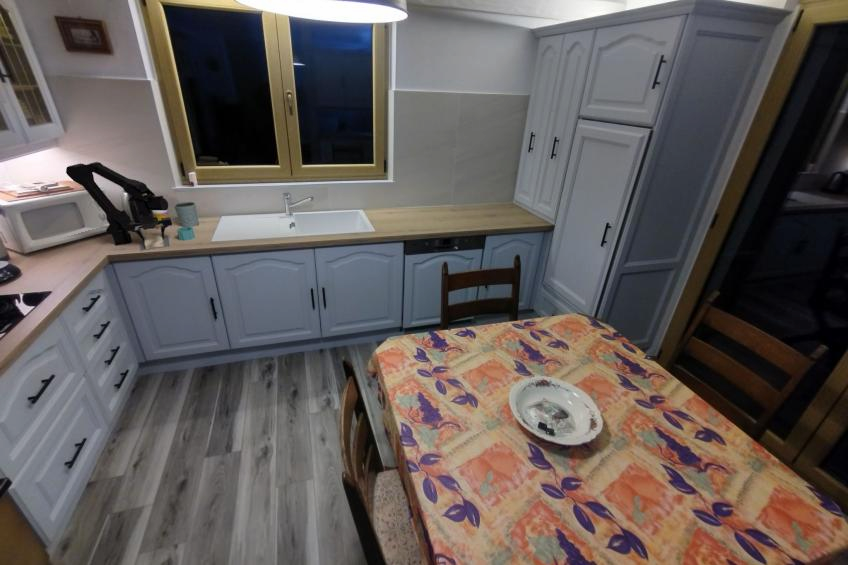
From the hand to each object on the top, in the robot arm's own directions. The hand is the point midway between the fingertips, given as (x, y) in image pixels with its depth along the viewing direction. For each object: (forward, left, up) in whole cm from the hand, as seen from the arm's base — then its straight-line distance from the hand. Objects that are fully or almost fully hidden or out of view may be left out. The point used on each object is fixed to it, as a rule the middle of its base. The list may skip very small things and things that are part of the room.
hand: (154, 240), depth 190 cm
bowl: (+14, 0, -2) cm, 14 cm away
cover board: (0, 0, -1) cm, 1 cm away
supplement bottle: (+5, +24, -2) cm, 25 cm away
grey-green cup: (+17, +22, -2) cm, 28 cm away
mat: (0, 0, -2) cm, 2 cm away
